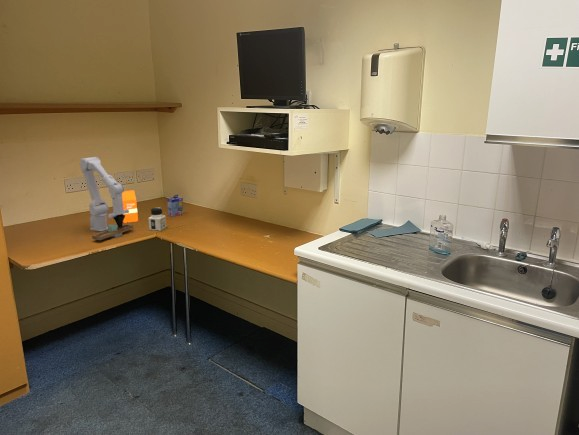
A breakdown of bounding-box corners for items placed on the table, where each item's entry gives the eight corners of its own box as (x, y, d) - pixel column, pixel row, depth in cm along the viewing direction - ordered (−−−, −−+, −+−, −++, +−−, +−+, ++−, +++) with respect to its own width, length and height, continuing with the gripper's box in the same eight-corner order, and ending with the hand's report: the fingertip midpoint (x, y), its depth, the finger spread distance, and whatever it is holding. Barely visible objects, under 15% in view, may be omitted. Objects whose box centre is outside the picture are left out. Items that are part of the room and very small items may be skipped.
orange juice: (138, 221, 293) (135, 191, 288) (124, 223, 289) (121, 192, 283) (134, 218, 300) (132, 189, 295) (121, 220, 295) (118, 190, 290)
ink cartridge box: (173, 217, 304) (171, 196, 300) (167, 215, 307) (166, 195, 303) (184, 214, 312) (182, 193, 308) (178, 213, 315) (177, 192, 311)
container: (160, 230, 272) (159, 210, 269) (149, 229, 274) (147, 209, 270) (166, 227, 280) (165, 207, 276) (155, 226, 281) (153, 206, 278)
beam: (91, 241, 251) (90, 235, 250) (124, 229, 274) (124, 223, 273) (101, 243, 248) (101, 236, 247) (135, 231, 271) (134, 225, 270)
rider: (108, 232, 259) (107, 225, 258) (113, 230, 263) (112, 223, 262) (112, 232, 258) (111, 226, 257) (117, 230, 261) (116, 224, 260)
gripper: (113, 208, 254) (115, 231, 257) (132, 202, 266) (134, 224, 270) (104, 206, 256) (106, 229, 260) (123, 201, 269) (125, 223, 273)
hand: (120, 227), depth 265 cm, fingers closed
